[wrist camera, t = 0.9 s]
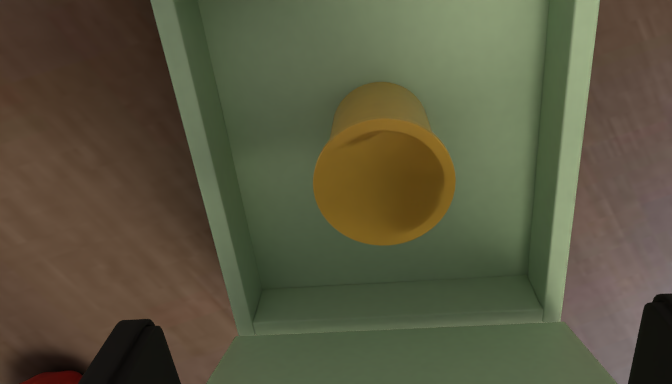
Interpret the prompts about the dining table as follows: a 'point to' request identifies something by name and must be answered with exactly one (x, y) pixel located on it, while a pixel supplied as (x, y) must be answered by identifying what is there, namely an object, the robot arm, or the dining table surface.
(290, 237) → the green tray box
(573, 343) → the lid
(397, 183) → the cup
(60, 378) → the apple
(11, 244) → the dining table surface
